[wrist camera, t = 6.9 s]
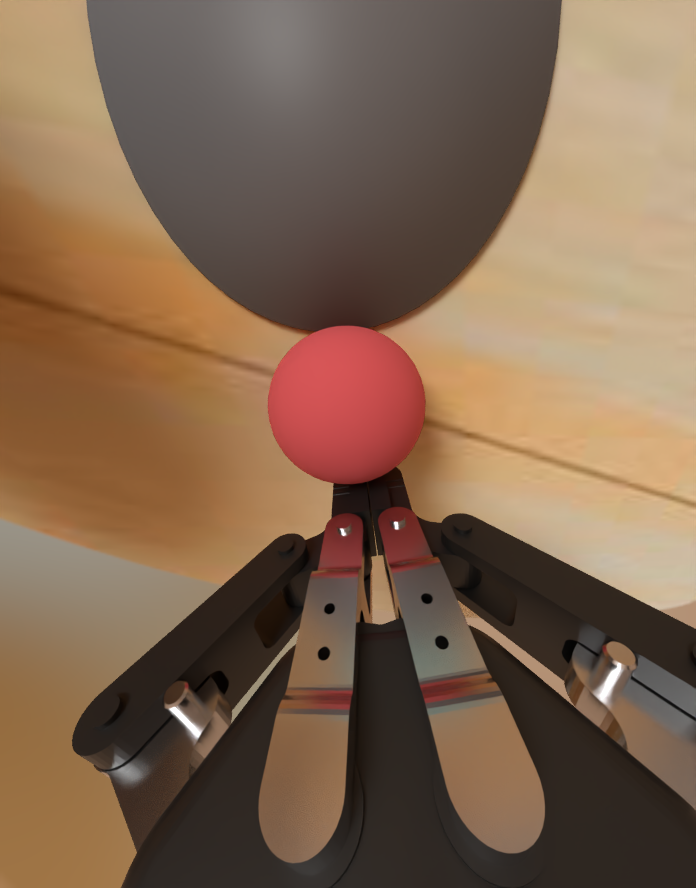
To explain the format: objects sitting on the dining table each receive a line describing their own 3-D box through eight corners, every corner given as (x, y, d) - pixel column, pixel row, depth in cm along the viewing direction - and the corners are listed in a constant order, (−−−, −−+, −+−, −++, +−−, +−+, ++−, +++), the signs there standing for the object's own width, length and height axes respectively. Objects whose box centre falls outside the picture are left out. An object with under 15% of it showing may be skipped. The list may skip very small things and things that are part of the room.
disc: (626, -515, 5) (636, -541, 5) (520, 303, 12) (523, 304, 12) (-42, -278, 6) (-54, -295, 6) (204, 353, 13) (202, 354, 13)
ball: (418, 392, 14) (431, 282, 9) (420, 508, 12) (439, 437, 7) (305, 393, 15) (263, 293, 10) (283, 501, 13) (214, 434, 8)
